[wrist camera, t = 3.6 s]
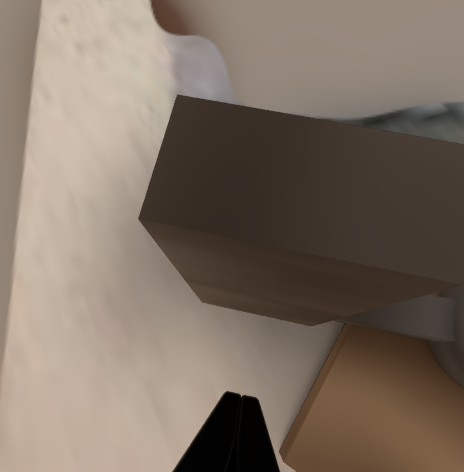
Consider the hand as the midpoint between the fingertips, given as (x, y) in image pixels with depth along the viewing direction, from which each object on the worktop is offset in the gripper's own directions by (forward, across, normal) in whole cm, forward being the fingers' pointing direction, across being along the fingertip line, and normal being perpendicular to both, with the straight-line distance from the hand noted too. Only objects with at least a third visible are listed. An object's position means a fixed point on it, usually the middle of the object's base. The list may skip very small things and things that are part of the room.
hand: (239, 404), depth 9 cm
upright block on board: (+7, -8, +2) cm, 11 cm away
